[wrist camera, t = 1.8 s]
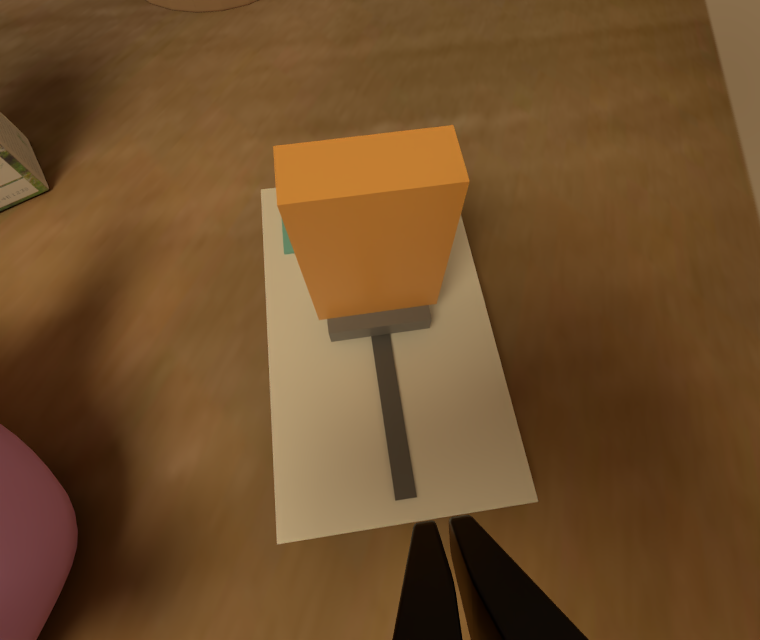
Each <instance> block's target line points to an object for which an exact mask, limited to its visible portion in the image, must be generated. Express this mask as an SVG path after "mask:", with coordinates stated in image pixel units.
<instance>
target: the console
mask: <svg viewBox="0 0 760 640" xmlns="http://www.w3.org/2000/svg"><path fill="white" fill-rule="evenodd" d="M261 201H262V223H263V245H264V267H265V289H266V311H267V333H268V355H269V377H270V399H271V421H272V443H273V465H274V487H275V509H276V531H277V544H282V543H288V542H295V541H301V540H307V539H313V538H319V537H325V536H331V535H337V534H344V533H350V532H356V531H362V530H368V529H374V528H380V527H387V526H393V525H399V524H405V523H411V522H417V521H423V520H430V519H436V518H442V517H448V516H454V515H460V514H466V513H472V512H479V511H485V510H491V509H497V508H503V507H509V506H515V505H522V504H528V503H534V502H538V498H537V495H536V491H535V487H534V484H533V480H532V476H531V472H530V469H529V465H528V461H527V458H526V454H525V450H524V446H523V443H522V439H521V435H520V432H519V428H518V424H517V421H516V417H515V413H514V409H513V406H512V402H511V398H510V395H509V391H508V387H507V383H506V380H505V376H504V372H503V369H502V365H501V361H500V358H499V354H498V350H497V346H496V343H495V339H494V335H493V332H492V328H491V324H490V320H489V317H488V313H487V309H486V306H485V302H484V298H483V295H482V291H481V287H480V283H479V280H478V276H477V272H476V269H475V265H474V261H473V257H472V254H471V250H470V246H469V243H468V239H467V235H466V232H465V228H464V224H463V220H462V217H461V215H460V219H459V223H458V226H457V230H456V234H455V237H454V241H453V245H452V248H451V252H450V256H449V260H448V263H447V267H446V271H445V274H444V278H443V282H442V285H441V289H440V293H439V296H438V300H437V304H432V305H429V308H430V313H431V318H432V320H431V324H430V328H427V329H420V330H413V331H406V332H399V333H392V334H384V335H377V336H370V337H363V338H356V339H349V340H342V341H335V342H331V339H330V336H329V333H328V324H327V319H323V320H319V319H318V316H317V313H316V310H315V308H314V305H313V302H312V299H311V297H310V294H309V291H308V288H307V286H306V283H305V280H304V278H303V275H302V272H301V269H300V267H299V264H298V261H297V258H296V256H295V253H294V250H293V247H292V245H291V242H290V239H289V237H288V234H287V231H286V228H285V226H284V223H283V220H282V217H281V215H280V212H279V209H278V206H277V196H276V188H270V189H262V190H261Z"/></svg>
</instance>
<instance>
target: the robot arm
mask: <svg viewBox="0 0 760 640" xmlns="http://www.w3.org/2000/svg"><path fill="white" fill-rule="evenodd" d="M449 535H450V550H451V556H452V561H453V566H454V570H455V574H456V578H457V583H458V587H459V591H460V595H461V600H462V604H463V608H464V612H465V617H466V621H467V625H468V629H469V634H470V638H471V640H588V639H587V637H586V636H585V635H584V634H583V633H582V632H581V631H580V630H579V629H578V628H577V627H576V626H575V625H574V624H573V623H572V622H571V621H570V620H569V618H568V617H567V616H566V615H565V614H564V613H563V612H562V611H561V610H560V609H559V608H558V607H557V606H556V605H555V604H554V603H553V602H552V601H551V600H550V598H549V597H548V596H547V595H546V594H545V593H544V592H543V591H542V590H541V589H540V588H539V587H538V586H537V585H536V584H535V583H534V582H533V581H532V579H531V578H530V577H529V576H528V575H527V574H526V573H525V572H524V571H523V570H522V569H521V568H520V567H519V566H518V565H517V564H516V563H515V562H514V560H513V559H512V558H511V557H510V556H509V555H508V554H507V553H506V552H505V551H504V550H503V549H502V548H501V547H500V546H499V545H498V544H497V543H496V542H495V540H494V539H493V538H492V537H491V536H490V535H489V534H488V533H487V532H486V531H485V530H484V529H483V528H482V527H481V526H480V525H479V524H478V523H477V521H476V520H475V519H474V518H473V517H471V516H470V515H462V516H456V517H451V518H450V519H449ZM392 640H462V633H461V626H460V619H459V612H458V605H457V598H456V591H455V586H454V581H453V577H452V573H451V570H450V567H449V564H448V560H447V557H446V554H445V551H444V547H443V544H442V541H441V538H440V534H439V531H438V528H437V525H436V523H435V521H432V520H431V521H425V522H419V523H416V524H415V525H414V527H413V532H412V537H411V543H410V548H409V554H408V559H407V564H406V570H405V575H404V580H403V586H402V591H401V596H400V602H399V607H398V613H397V618H396V623H395V629H394V634H393V639H392Z"/></svg>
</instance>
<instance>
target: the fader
mask: <svg viewBox="0 0 760 640" xmlns="http://www.w3.org/2000/svg"><path fill="white" fill-rule="evenodd" d="M273 149H274V165H275V180H276V196H277V206H278V209H279V212H280V215H281V217H282V220H283V223H284V226H285V228H286V231H287V234H288V237H289V239H290V242H291V245H292V247H293V250H294V253H295V256H296V258H297V261H298V264H299V267H300V269H301V272H302V275H303V278H304V280H305V283H306V286H307V288H308V291H309V294H310V297H311V299H312V302H313V305H314V308H315V310H316V313H317V316H318V319H319V320H323V319H327V324H328V333H329V336H330V339H331V342H335V341H342V340H349V339H356V338H363V337H370V336H377V335H384V334H392V333H399V332H406V331H413V330H420V329H427V328H430V324H431V320H432V318H431V313H430V308H429V305H432V304H437V300H438V296H439V293H440V289H441V285H442V282H443V278H444V274H445V271H446V267H447V263H448V260H449V256H450V252H451V248H452V245H453V241H454V237H455V234H456V230H457V226H458V223H459V219H460V215H461V211H462V208H463V204H464V200H465V197H466V193H467V189H468V186H469V182H470V181H469V178H468V174H467V171H466V167H465V164H464V160H463V157H462V153H461V150H460V147H459V143H458V140H457V136H456V133H455V129H454V126H453V125H450V126H442V127H433V128H424V129H416V130H407V131H399V132H390V133H382V134H373V135H365V136H356V137H348V138H339V139H330V140H322V141H313V142H305V143H296V144H288V145H279V146H273Z"/></svg>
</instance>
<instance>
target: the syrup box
mask: <svg viewBox="0 0 760 640" xmlns="http://www.w3.org/2000/svg"><path fill="white" fill-rule="evenodd" d="M47 190H49V187H48V184H47V182H46V180H45V177H44V174H43V172H42V170H41V168H40V165H39V163H38V161H37V158H36V156H35V154H34V152H33V149H32V147H31V145H30V143H29V140H28V139H27V137H26V136H25V135H24V134H23V133H22V132H21V131H20V130H19V129H18V128H17V127H16V126H15V125H14V124H13V123H12V122H11V121H10V120H8V119H7V118H6V117H5V116H4V115H3V114H2V113H1V112H0V211H2V210H5V209H7V208H9V207H12V206H14V205H16V204H18V203H21V202H23V201H25V200H27V199H30V198H32V197H34V196H36V195H39V194H41V193H43V192H45V191H47Z"/></svg>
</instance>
